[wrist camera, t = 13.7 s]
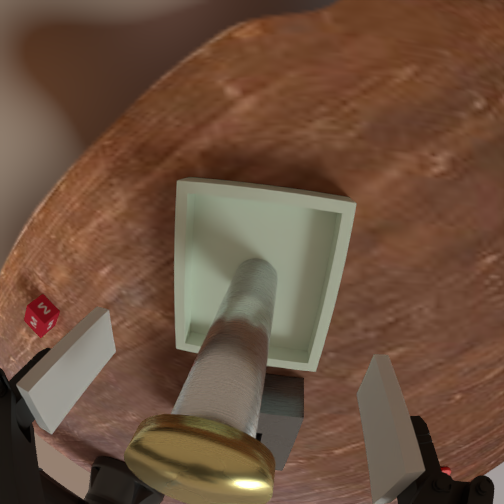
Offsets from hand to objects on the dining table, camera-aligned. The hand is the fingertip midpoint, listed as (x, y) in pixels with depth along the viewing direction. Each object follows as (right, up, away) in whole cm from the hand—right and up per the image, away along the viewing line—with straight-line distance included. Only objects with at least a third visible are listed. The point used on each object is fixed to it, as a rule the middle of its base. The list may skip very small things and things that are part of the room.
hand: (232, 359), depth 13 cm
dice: (-23, -2, +15) cm, 27 cm away
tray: (+1, +3, +10) cm, 10 cm away
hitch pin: (+1, +3, +9) cm, 9 cm away
